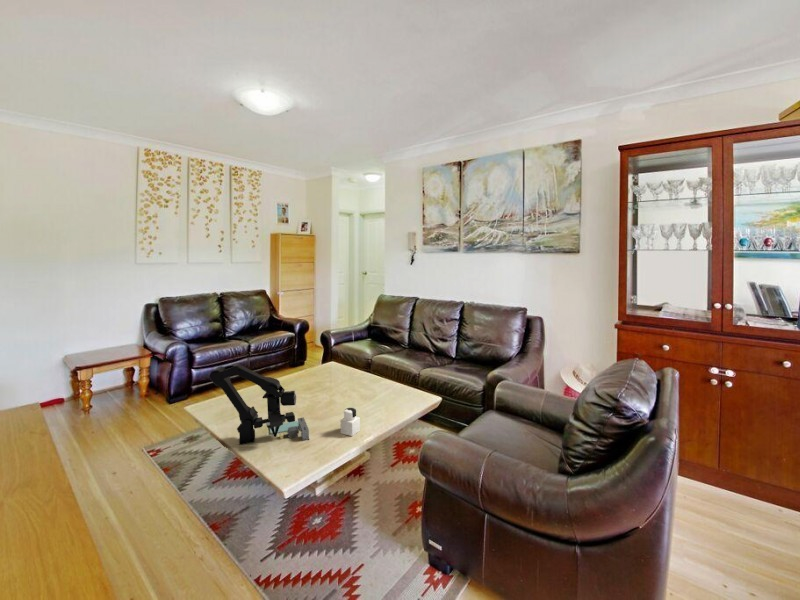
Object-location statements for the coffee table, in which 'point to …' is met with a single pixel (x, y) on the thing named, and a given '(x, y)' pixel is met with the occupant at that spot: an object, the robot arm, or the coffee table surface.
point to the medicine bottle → (350, 422)
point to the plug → (291, 433)
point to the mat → (286, 427)
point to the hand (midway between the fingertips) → (275, 436)
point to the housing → (303, 429)
